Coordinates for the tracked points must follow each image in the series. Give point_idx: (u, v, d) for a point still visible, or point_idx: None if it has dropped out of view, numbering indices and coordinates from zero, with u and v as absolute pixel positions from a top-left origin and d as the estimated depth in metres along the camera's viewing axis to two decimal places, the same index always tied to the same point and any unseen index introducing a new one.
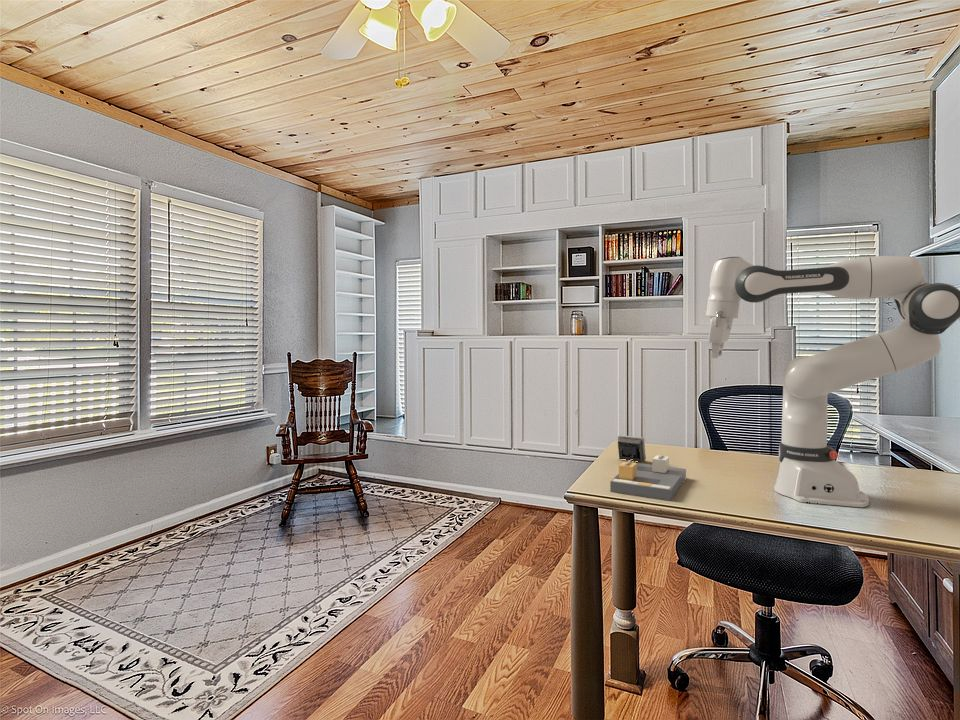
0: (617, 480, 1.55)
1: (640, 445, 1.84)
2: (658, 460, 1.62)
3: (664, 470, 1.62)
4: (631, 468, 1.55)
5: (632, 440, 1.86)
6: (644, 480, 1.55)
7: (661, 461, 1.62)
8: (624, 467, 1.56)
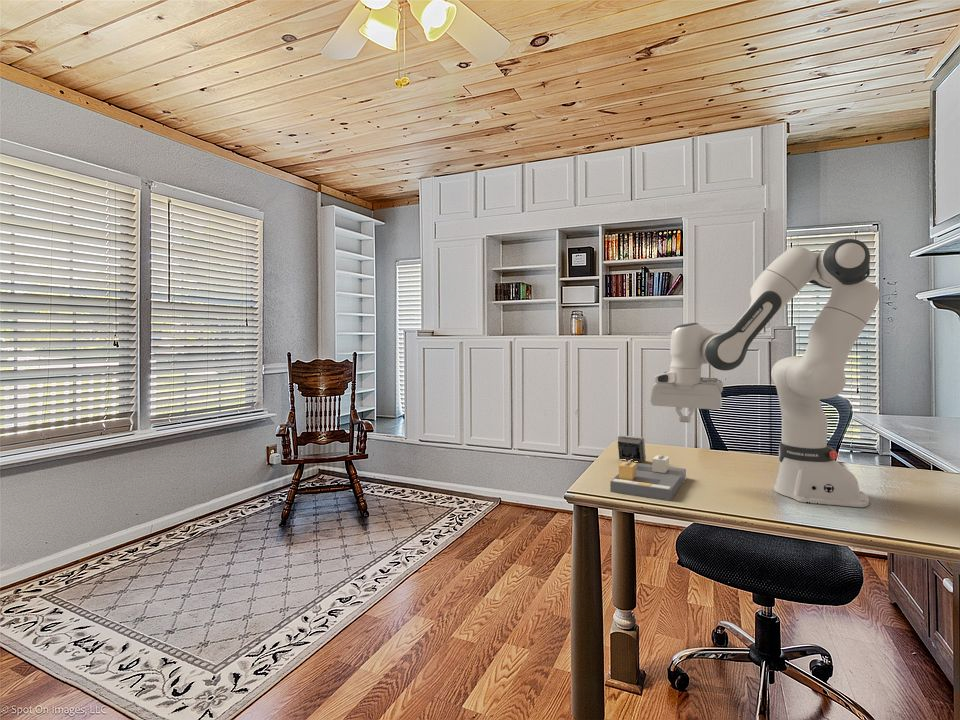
0: (617, 480, 1.55)
1: (640, 445, 1.84)
2: (658, 460, 1.62)
3: (664, 470, 1.62)
4: (631, 468, 1.55)
5: (632, 440, 1.86)
6: (644, 480, 1.55)
7: (661, 461, 1.62)
8: (624, 467, 1.56)
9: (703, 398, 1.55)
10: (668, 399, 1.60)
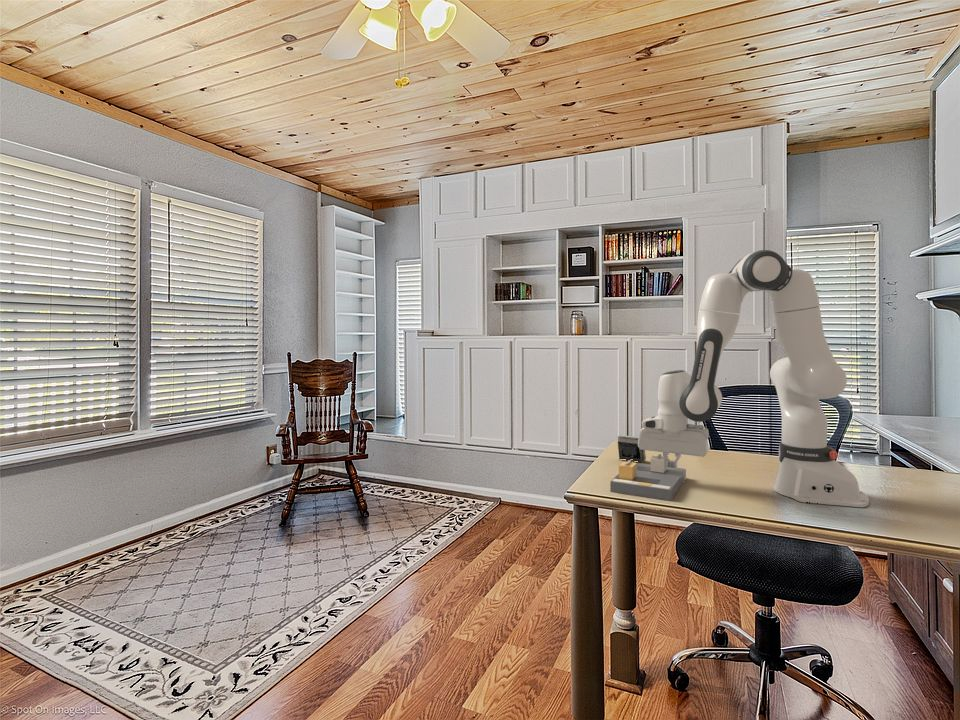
0: (617, 480, 1.55)
1: None
2: (656, 460, 1.63)
3: (662, 470, 1.62)
4: (631, 468, 1.55)
5: (632, 440, 1.86)
6: (644, 480, 1.55)
7: (659, 461, 1.62)
8: (624, 467, 1.56)
9: (689, 445, 1.58)
10: (655, 444, 1.63)
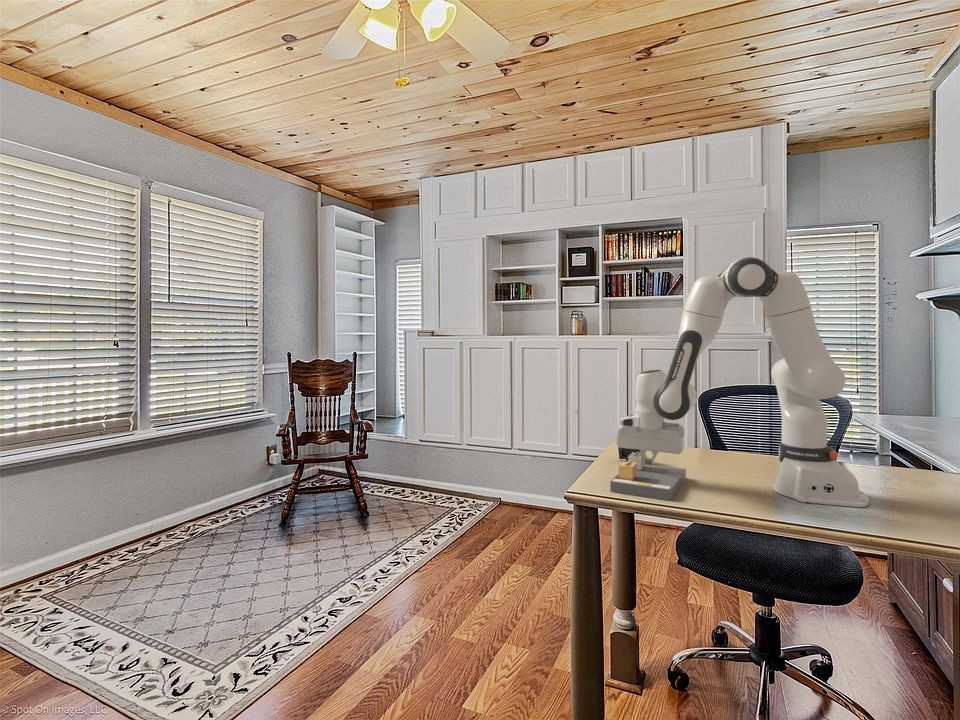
0: (617, 480, 1.55)
1: None
2: (634, 457, 1.66)
3: (639, 467, 1.65)
4: (631, 468, 1.55)
5: None
6: (644, 480, 1.55)
7: (636, 458, 1.66)
8: (624, 467, 1.56)
9: (665, 443, 1.61)
10: (632, 442, 1.67)
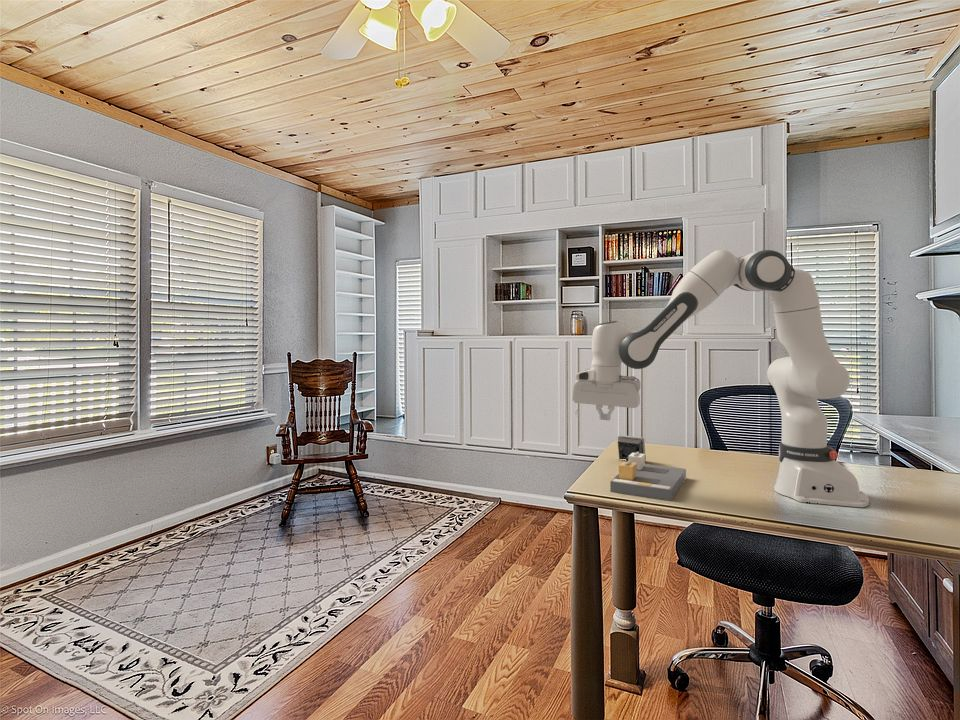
0: (617, 480, 1.55)
1: (640, 445, 1.84)
2: (634, 457, 1.66)
3: (639, 467, 1.65)
4: (631, 468, 1.55)
5: (632, 440, 1.86)
6: (644, 480, 1.55)
7: (636, 458, 1.66)
8: (624, 467, 1.56)
9: (621, 396, 1.56)
10: (588, 397, 1.61)
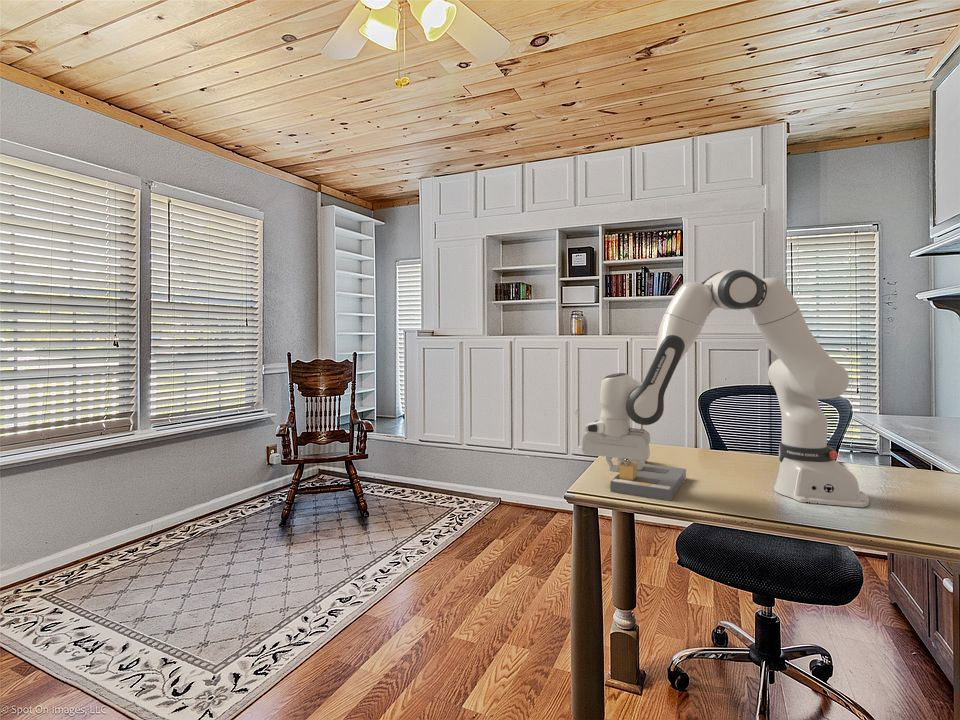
0: (617, 480, 1.55)
1: None
2: None
3: (639, 467, 1.65)
4: (631, 468, 1.55)
5: None
6: (644, 480, 1.55)
7: None
8: (624, 467, 1.56)
9: (631, 449, 1.55)
10: (598, 449, 1.60)
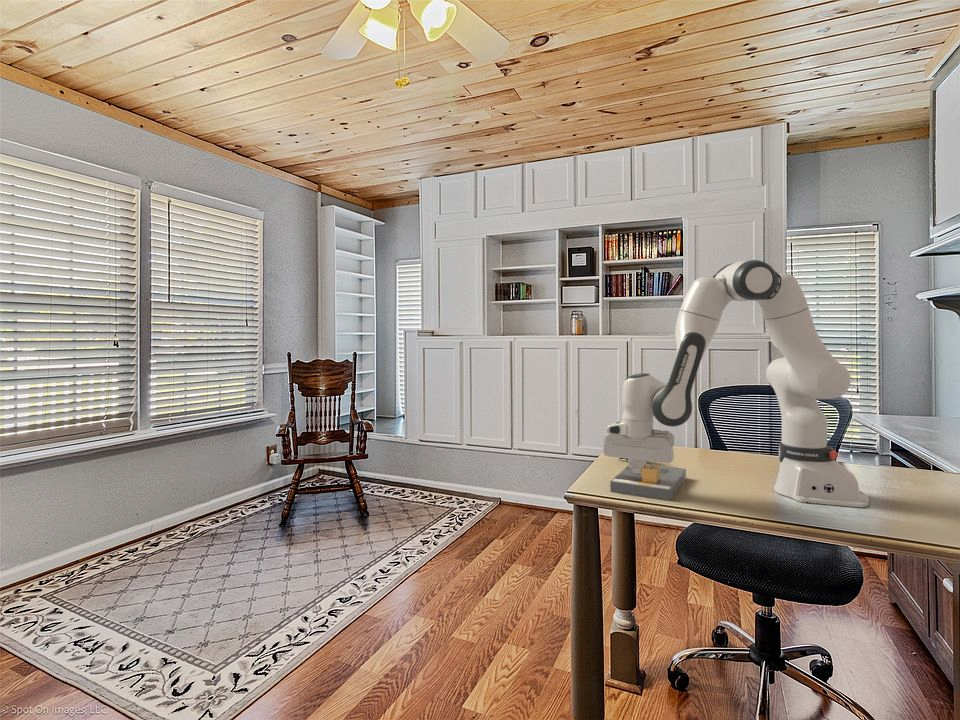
0: (617, 480, 1.55)
1: None
2: None
3: (639, 467, 1.65)
4: (655, 471, 1.51)
5: None
6: None
7: None
8: (648, 470, 1.52)
9: (654, 452, 1.52)
10: (620, 451, 1.57)
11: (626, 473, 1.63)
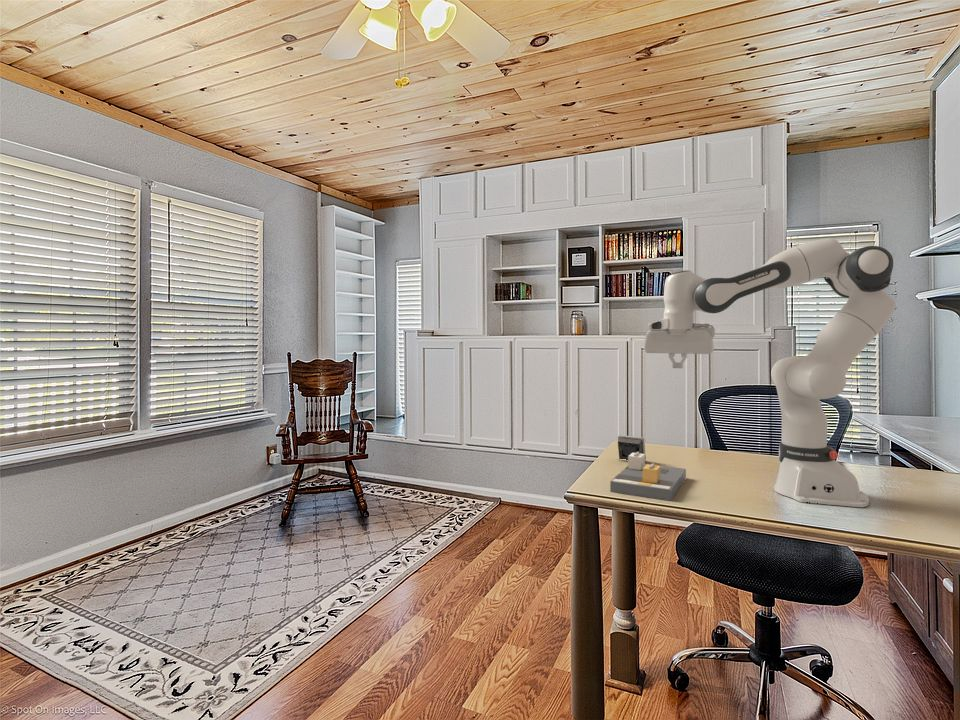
0: (617, 480, 1.55)
1: (640, 445, 1.84)
2: (634, 457, 1.66)
3: (639, 467, 1.65)
4: (655, 471, 1.51)
5: (632, 440, 1.86)
6: None
7: (636, 458, 1.66)
8: (648, 470, 1.52)
9: (695, 344, 1.59)
10: (661, 346, 1.64)
11: (626, 473, 1.63)
